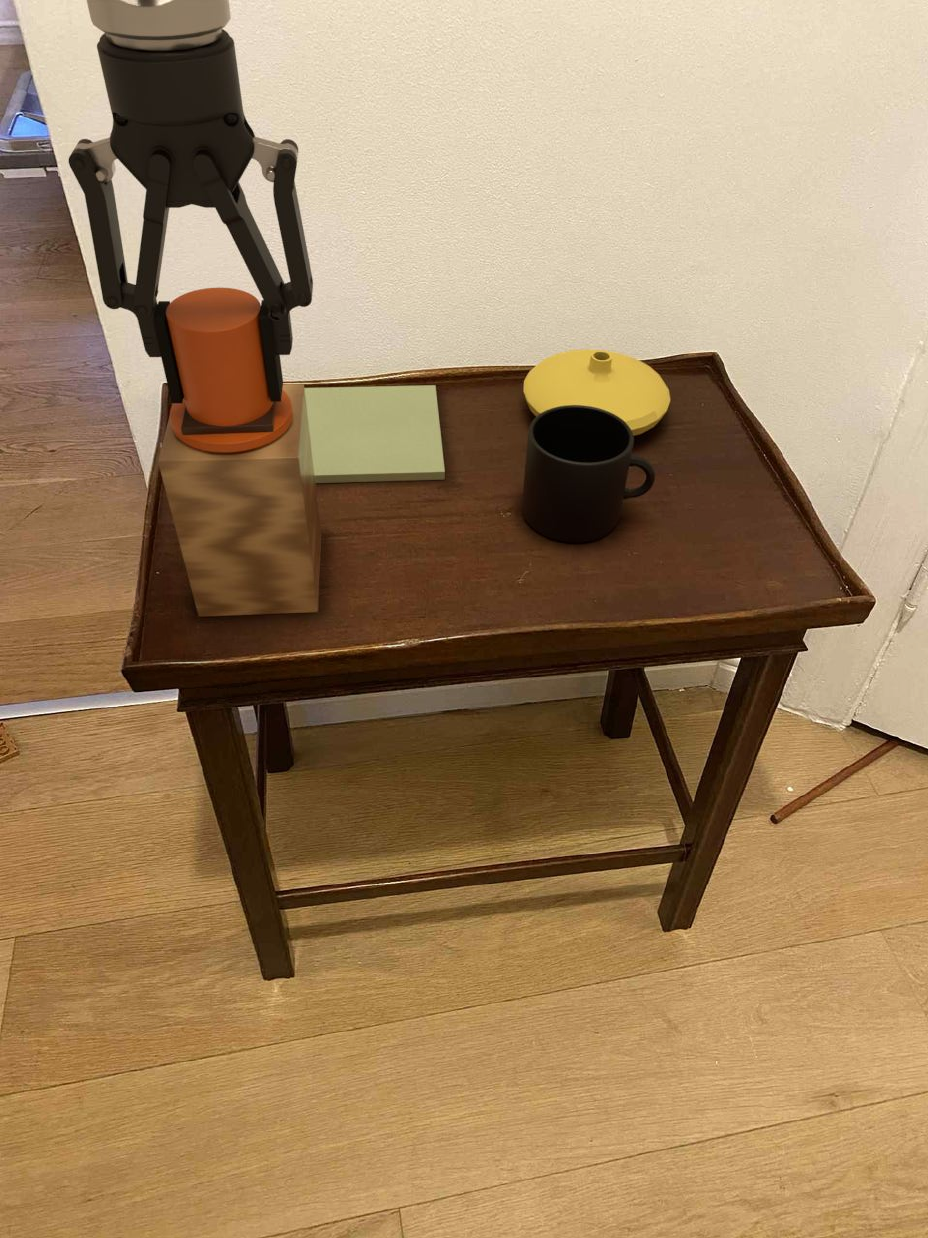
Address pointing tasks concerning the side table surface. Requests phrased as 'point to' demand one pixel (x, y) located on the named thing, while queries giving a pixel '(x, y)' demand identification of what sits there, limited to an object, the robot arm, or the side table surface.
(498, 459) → the side table surface
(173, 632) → the side table surface
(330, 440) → the mat
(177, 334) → the hat
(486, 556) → the side table surface
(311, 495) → the block
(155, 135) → the robot arm
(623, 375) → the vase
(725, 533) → the side table surface
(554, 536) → the mug
